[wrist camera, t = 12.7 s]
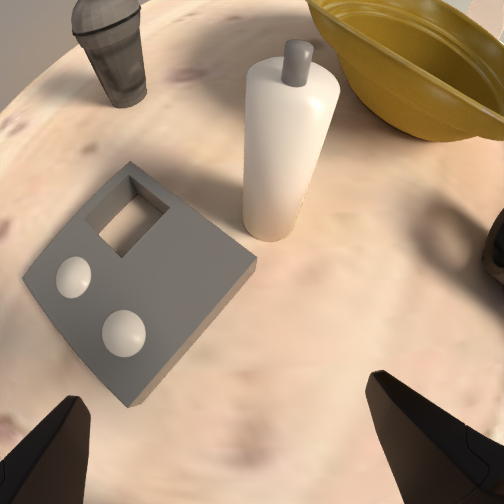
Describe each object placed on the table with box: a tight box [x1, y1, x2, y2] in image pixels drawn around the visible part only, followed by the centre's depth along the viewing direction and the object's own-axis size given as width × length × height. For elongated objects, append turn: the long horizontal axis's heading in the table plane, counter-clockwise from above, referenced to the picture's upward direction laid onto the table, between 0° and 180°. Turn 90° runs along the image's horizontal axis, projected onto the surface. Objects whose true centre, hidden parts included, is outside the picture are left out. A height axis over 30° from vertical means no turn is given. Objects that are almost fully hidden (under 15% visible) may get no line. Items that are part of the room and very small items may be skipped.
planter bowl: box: [306, 0, 504, 142], centre depth 27 cm, size 32×32×13 cm
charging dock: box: [22, 161, 257, 408], centre depth 22 cm, size 14×14×3 cm
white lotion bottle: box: [243, 40, 340, 242], centre depth 18 cm, size 4×4×16 cm
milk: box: [465, 0, 504, 40], centre depth 40 cm, size 12×12×26 cm
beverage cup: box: [71, 0, 147, 108], centre depth 22 cm, size 7×7×20 cm
